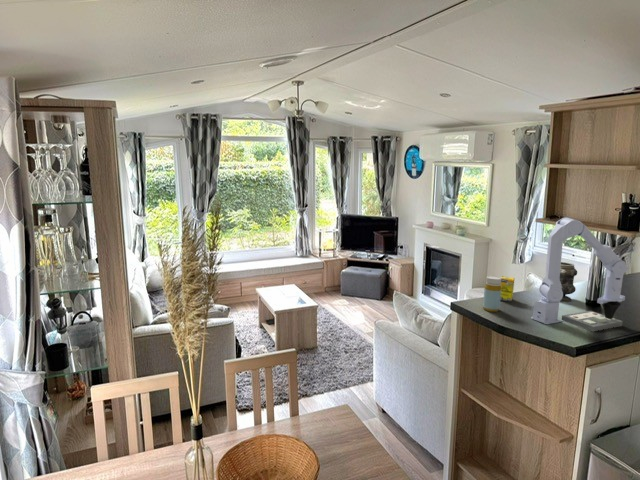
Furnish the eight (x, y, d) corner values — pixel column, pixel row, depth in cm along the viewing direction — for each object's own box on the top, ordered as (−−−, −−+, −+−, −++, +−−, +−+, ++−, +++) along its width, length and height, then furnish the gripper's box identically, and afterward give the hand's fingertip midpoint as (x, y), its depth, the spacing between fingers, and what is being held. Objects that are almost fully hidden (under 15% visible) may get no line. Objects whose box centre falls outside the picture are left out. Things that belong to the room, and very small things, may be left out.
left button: (589, 329, 178) (590, 323, 178) (581, 326, 181) (582, 320, 181) (595, 328, 180) (596, 322, 179) (587, 325, 183) (588, 319, 182)
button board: (592, 331, 176) (593, 326, 175) (561, 319, 188) (562, 314, 188) (622, 325, 183) (622, 320, 182) (590, 315, 195) (590, 310, 195)
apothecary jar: (570, 296, 223) (574, 261, 220) (577, 303, 212) (582, 267, 208) (544, 294, 226) (548, 259, 223) (549, 301, 215) (554, 265, 211)
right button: (609, 325, 183) (609, 320, 183) (600, 322, 186) (601, 317, 186) (614, 324, 184) (615, 319, 184) (606, 321, 188) (607, 316, 187)
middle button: (599, 324, 180) (600, 319, 180) (591, 321, 184) (592, 316, 183) (605, 323, 182) (606, 318, 181) (597, 320, 185) (598, 315, 185)
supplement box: (498, 300, 214) (500, 278, 212) (499, 297, 219) (501, 275, 217) (511, 302, 211) (513, 280, 209) (512, 299, 216) (514, 277, 214)
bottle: (479, 308, 201) (482, 276, 199) (490, 306, 204) (493, 275, 202) (491, 313, 195) (494, 280, 193) (502, 310, 198) (505, 278, 196)
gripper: (611, 291, 176) (606, 323, 178) (634, 288, 182) (629, 319, 184) (594, 286, 182) (590, 318, 185) (617, 283, 188) (612, 314, 190)
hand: (608, 318), depth 185 cm, fingers closed, pressing on right button
